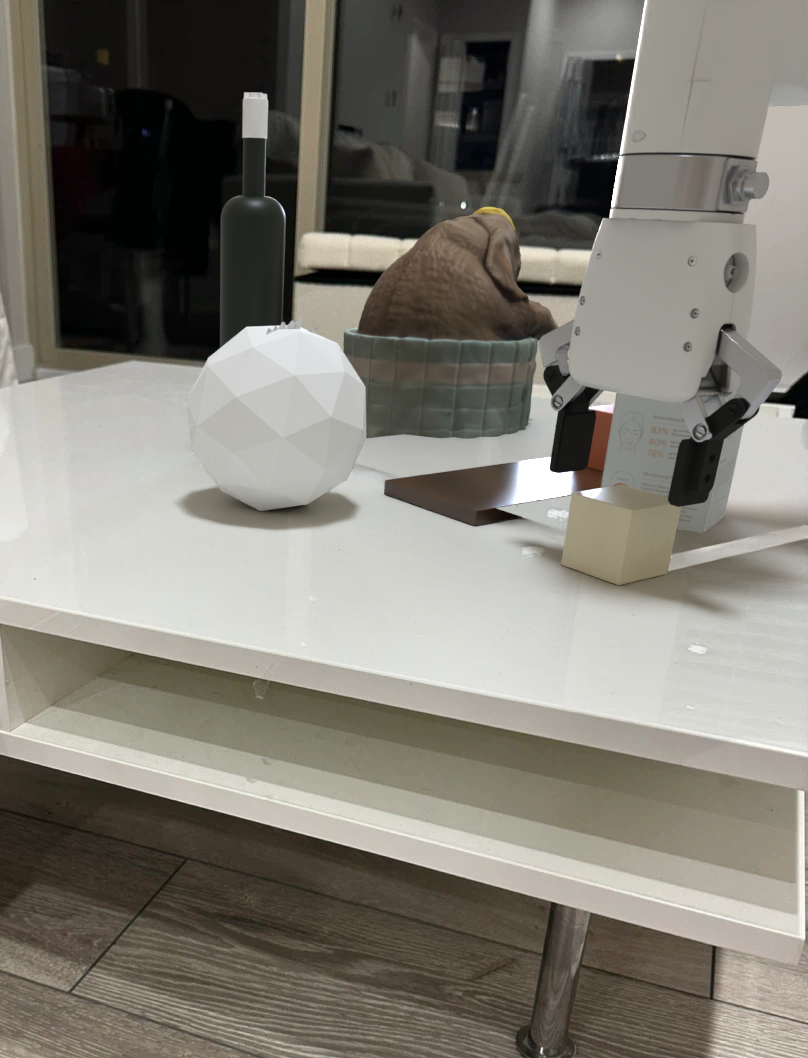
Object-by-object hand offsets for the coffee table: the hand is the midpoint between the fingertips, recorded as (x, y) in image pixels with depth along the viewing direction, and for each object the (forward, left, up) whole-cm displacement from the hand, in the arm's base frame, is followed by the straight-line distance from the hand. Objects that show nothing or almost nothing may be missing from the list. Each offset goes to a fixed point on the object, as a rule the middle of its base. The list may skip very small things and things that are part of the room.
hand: (624, 486), depth 69 cm
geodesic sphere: (+11, -25, -6) cm, 28 cm away
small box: (-11, -5, -6) cm, 14 cm away
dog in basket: (-24, -44, -6) cm, 51 cm away
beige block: (0, 0, -6) cm, 6 cm away
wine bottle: (+2, -43, -6) cm, 43 cm away
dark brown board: (-12, -18, -6) cm, 23 cm away
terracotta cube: (-21, -18, -5) cm, 28 cm away
